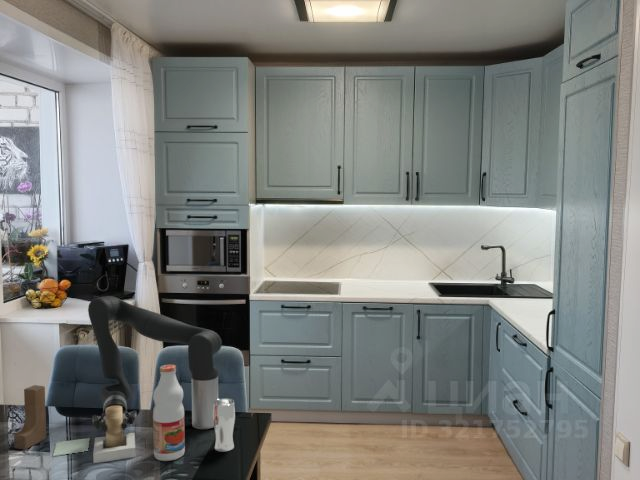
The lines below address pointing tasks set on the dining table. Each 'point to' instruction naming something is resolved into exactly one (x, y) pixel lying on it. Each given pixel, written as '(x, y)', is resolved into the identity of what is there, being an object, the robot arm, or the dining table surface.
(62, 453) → the sage mat
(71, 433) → the dining table surface
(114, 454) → the white square frame
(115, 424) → the wooden peg
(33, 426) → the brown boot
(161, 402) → the fruit juice
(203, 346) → the robot arm
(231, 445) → the beer glass
